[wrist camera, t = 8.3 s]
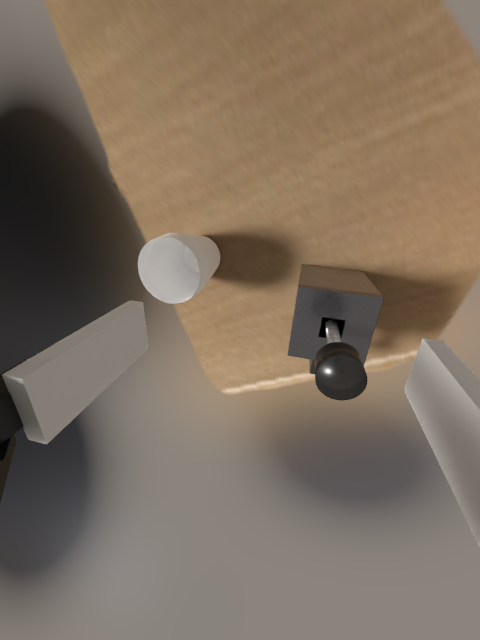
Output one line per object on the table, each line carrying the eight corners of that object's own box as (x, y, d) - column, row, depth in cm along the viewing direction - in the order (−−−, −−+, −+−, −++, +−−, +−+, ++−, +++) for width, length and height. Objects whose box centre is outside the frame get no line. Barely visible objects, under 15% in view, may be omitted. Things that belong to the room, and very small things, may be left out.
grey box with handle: (301, 264, 42) (298, 286, 31) (362, 271, 41) (383, 297, 29) (290, 335, 47) (284, 378, 36) (344, 344, 46) (356, 392, 34)
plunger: (308, 278, 40) (307, 339, 22) (354, 283, 39) (394, 353, 20) (301, 317, 42) (295, 403, 24) (344, 324, 41) (371, 418, 23)
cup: (236, 245, 43) (212, 259, 33) (213, 291, 47) (185, 317, 37) (188, 217, 44) (149, 220, 33) (169, 265, 48) (128, 282, 37)
